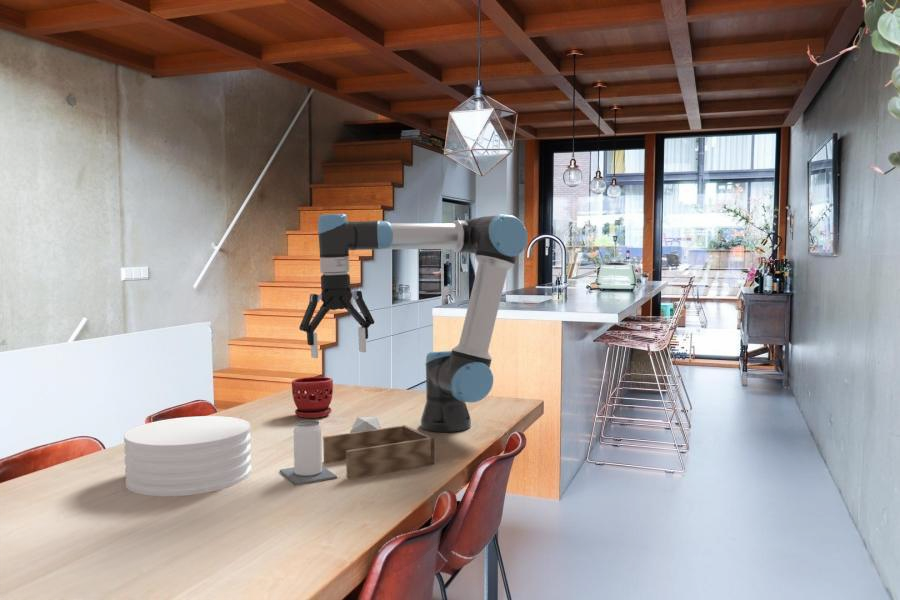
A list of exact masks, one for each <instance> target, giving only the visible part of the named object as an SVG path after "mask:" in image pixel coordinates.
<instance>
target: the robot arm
mask: <svg viewBox="0 0 900 600" xmlns="http://www.w3.org/2000/svg"><path fill="white" fill-rule="evenodd" d="M317 224H318V226H317V229H318V230H317V234H318V243H319V244H318V246H319V269H320V273H321V276H320V288H321V293H320V294H317V293H310V295H309V302H308V305H307V308H306V310H305V312H304V315H303V318H302V320H301V322H300V325H299V328H298V329H299V330H300V331H303V332H305V333H306V339H307V340H306V341H307V342H306V343H307V345H308V346H310V355H311V358H313V359H319V348H318V345H319V344H318V332H315V330H316V329H317V328H318V326H319V325H320V323H321V322H322V321H323V319H324V317H325V316H326V315H327V314H328V312H329V311H336V310H346V311H347V312H348V313H349V314H350V315H351V316H352V318H354V320H355V321H356V322H357V323H358V324H359V326H358V327H357V332H358V333H357V334H358V351H359V352H361V353H366V352H367V344H366V343H367V342H366V340H368V339H369V327H370V326H371V325H374V324H375V320H374V318H373V316H372V314H371V312H370V310H369V308H368V307H367V304H366V302H365V300H364V298H363V292H362V290H354V291H351V275H350V274H348V273H349V272H350V253H349V251H356V250H357V251H359V250H361V251H367V250H368V251H369V250H379V251H380V250H452V251H453V252H454V253H467V254H473V255H474V258H475V260H476V261H477V268H476V273H475V276H474V281H473V285H472V288H471V289H472V290H471V293H470V297H469V301H468V305H467V310H466V313H465V319H464V322H463V327H462V330H461V335H460V338H459V342H458V345H455V346H454V347H453V348H451V350H443V351H429V352H428V353H426V358H425V379H426V381H425V382H426V383H425V385H426V386H425V387H426V388H425V389H426V390H425V391H426V394H425V395H426V399H425V400H426V402H425V405H424V409H423V412H422V414H421V418H420V428H421V429H423V430H425V431H429V432H436V433H437V432H438V433H454V432H461V431H465V430H469V428H471V425H472V424H471V423H472V421H471V420H472V419H471V415H470V413H469V410H468V406H467V404H466V403H470V404H471V403H472V404H473V403H477V402H480V401H481V400H483V399H485V398H486V397H487V396H488V395H489V394H490V392H491V390H492V388H493V385H494V375H493V373H492V370H491V368H490V367H491V364H492V363H491V362H492V360H493V359H492V356H491V355H490V353H489V349H490V344H491V340H492V336H493V332H494V329H495V324H496V320H497V315H498V311H499V307H500V303H501V300H502V295H503V291H504V287H505V283H506V279H507V274H508V271H509V270H511V269H512V268H513V267H515V265H516V260H517V257H518V255H520V254H521V253H523V251H524V250H525V249H526V247H527V245H528V232H527V228H526V227H525V224H524V223H523V222H522V220H520V219H519V217H516V216H515V215H510V214H504V213H503V214H497V215H489V216H488V215H486V216H481V217H477V218H472V219H463V220H462V219H459V220H458V219H456V220H453V222H452V223H433V222H432V223H431V222H430V223H422V222H421V223H418V222H417V223H411V222H409V223H408V222H404V223H403V222H402V223H401V222H399V223H398V222H397V223H395V222H391V223H390V222H389V221H387V220H379V219H378V220H366V221H365V220H362V221H359V220H358V221H350V220H348V217H347V215H346V214H345V213H327V214H322V215H321V214H320V216H319V217H318V223H317ZM352 299H353V300H355V303H356V306H358V309H359V311H360V313H361V314H362V315H361V314H360V313H359V311H358V310H357V309H356V308H355V307H354V305H353V304H352V302H351V300H352ZM320 300H321V302H322V304H321V306H320V307H319V310H318V312H317V313H316V314H315V315H314V313H315V310H316V308H317V306H318V303H319V302H320ZM313 316H314V317H313ZM312 318H313V319H312Z"/></svg>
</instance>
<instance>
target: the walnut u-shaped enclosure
mask: <svg viewBox="0 0 900 600" xmlns="http://www.w3.org/2000/svg"><path fill="white" fill-rule="evenodd" d="M322 440H323V441H322V442H323V443H322V446H323V448H322V449H323V463H324V464H327V463H328V464H329V463H333V462H334V463H336V462H340V461H341V462H342V461H346V479H347V480H351V478H352V479H356V478H362V477H368V476H373V475H374V476H375V475H379V474H384V473H391V472H395V471H402V470H408V469H413V468H418V467H419V468H420V467H423V466H431V465H434V464H435V437H432V436H430V435H428V434H425V433H423V432H421V431H419V430H416V429H414V428H412V427H410V426H407V425H405V424H404V425H398V426H391V427H381V429H375V430H368V431H361V432H353V433H350V432H348V433H341V434H334V435H327V436H323V438H322Z"/></svg>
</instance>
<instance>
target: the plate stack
mask: <svg viewBox="0 0 900 600" xmlns="http://www.w3.org/2000/svg"><path fill="white" fill-rule="evenodd" d="M250 432H251V423H250V422H249V421H247V420H245V419H241V418H237V417H231V416H223V415H222V416H221V415H201V416H200V415H199V416H198V415H197V416H196V415H195V416H184V417H175V418H168V419H162V420H157V421H153V422H148V423H145V424H141V425H137V426H135V427H133V428H131V429H129V430H127V431H126V432H125V433H124V435H123V442H124V455H125V456H124V465H125V468H124V474H125V477H126V478H125V486H126V488H127V489H128V490H129V491H131V492H133V493H135V494H139V495H145V496H153V497H180V496H191V495H199V494H205V493H210V492H211V493H212V492H215V491H219V490H223V489H227V488H230V487H232V486H235V485H237V484H239V483H240V484H241V482H243V481H245V480H246V479H249V477H250V475H251V474H252V465H251V464H252V455H251V452H252V445H251V442H252V439H251V433H250Z"/></svg>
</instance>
